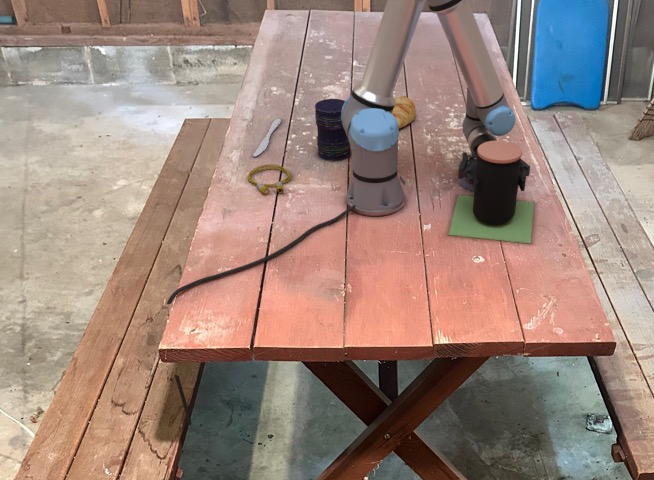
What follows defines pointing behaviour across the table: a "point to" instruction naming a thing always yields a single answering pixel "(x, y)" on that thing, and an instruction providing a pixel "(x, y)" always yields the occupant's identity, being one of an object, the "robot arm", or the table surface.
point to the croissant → (404, 111)
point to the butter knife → (267, 138)
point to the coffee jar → (497, 181)
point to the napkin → (510, 231)
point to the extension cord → (264, 188)
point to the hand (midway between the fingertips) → (500, 187)
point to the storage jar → (331, 131)
